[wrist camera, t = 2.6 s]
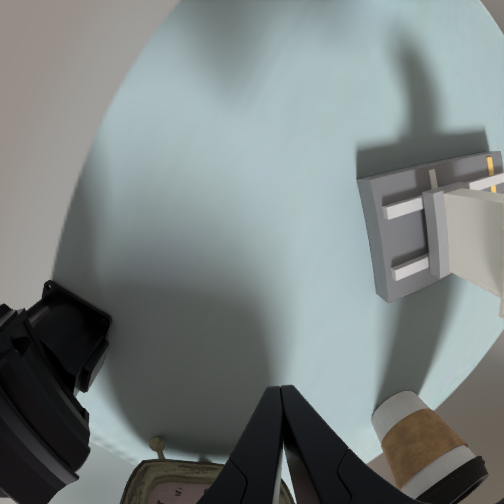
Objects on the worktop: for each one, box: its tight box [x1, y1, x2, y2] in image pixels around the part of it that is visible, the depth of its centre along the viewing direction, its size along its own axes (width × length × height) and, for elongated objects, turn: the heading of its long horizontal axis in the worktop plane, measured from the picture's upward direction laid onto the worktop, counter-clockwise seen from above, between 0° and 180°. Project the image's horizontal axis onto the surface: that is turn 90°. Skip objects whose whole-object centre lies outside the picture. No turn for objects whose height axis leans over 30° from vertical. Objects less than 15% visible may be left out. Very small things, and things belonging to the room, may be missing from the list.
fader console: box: [357, 151, 504, 303], centre depth 19 cm, size 16×9×3 cm, turn 106°
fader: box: [422, 182, 504, 319], centre depth 13 cm, size 4×7×8 cm, turn 16°
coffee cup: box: [372, 391, 488, 504], centre depth 18 cm, size 8×8×15 cm
